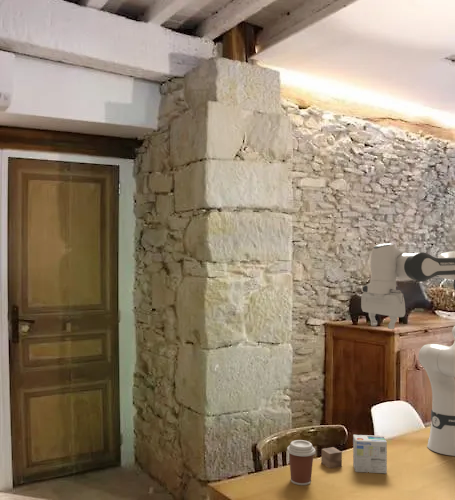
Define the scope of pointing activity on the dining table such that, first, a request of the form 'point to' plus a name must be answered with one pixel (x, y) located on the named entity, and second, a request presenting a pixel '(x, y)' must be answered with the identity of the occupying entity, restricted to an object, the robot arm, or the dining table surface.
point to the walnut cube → (331, 457)
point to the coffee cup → (301, 461)
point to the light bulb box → (369, 454)
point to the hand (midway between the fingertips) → (382, 327)
